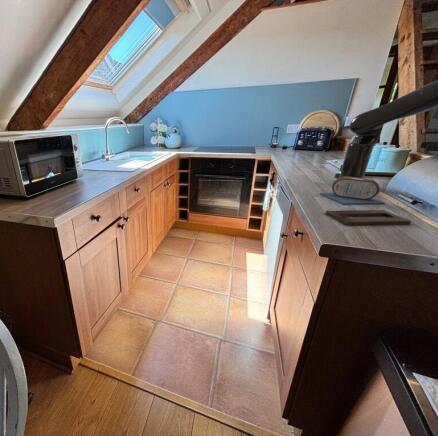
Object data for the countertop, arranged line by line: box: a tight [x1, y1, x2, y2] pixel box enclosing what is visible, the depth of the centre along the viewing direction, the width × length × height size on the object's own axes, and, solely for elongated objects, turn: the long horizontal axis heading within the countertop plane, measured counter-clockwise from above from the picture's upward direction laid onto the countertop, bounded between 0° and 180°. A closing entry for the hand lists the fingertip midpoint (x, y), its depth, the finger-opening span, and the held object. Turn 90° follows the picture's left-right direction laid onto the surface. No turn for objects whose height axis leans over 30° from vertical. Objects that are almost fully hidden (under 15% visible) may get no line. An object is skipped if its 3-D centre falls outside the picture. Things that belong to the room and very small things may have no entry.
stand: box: [325, 209, 412, 226], centre depth 82 cm, size 10×20×1 cm, turn 89°
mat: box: [320, 192, 386, 205], centre depth 101 cm, size 14×16×1 cm
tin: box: [331, 177, 380, 200], centre depth 99 cm, size 15×3×8 cm, turn 53°
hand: (423, 145), depth 85 cm, fingers open, 8 cm apart
